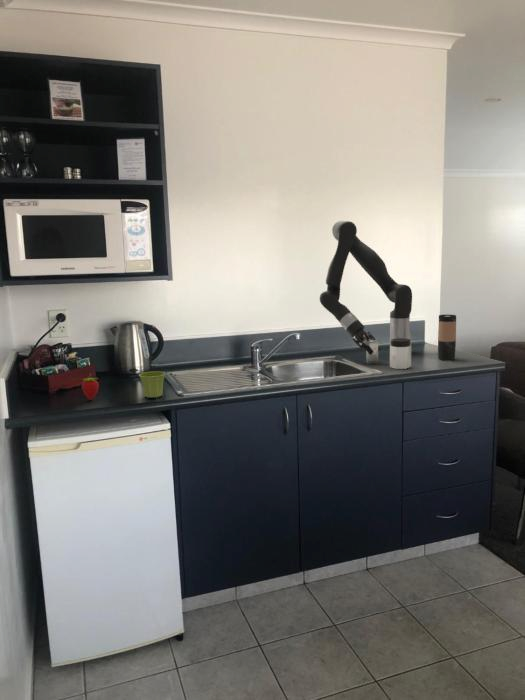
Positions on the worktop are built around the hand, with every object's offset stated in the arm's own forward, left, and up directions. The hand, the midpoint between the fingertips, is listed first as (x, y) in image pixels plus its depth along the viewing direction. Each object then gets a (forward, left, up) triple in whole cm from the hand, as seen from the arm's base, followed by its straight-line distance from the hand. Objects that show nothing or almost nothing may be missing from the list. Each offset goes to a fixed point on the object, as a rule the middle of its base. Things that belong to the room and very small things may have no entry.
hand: (375, 352), depth 252 cm
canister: (+1, -1, -5) cm, 5 cm away
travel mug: (-31, +11, -5) cm, 33 cm away
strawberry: (+124, +2, -5) cm, 124 cm away
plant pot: (+103, +9, -5) cm, 103 cm away
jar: (-3, +14, -5) cm, 15 cm away
